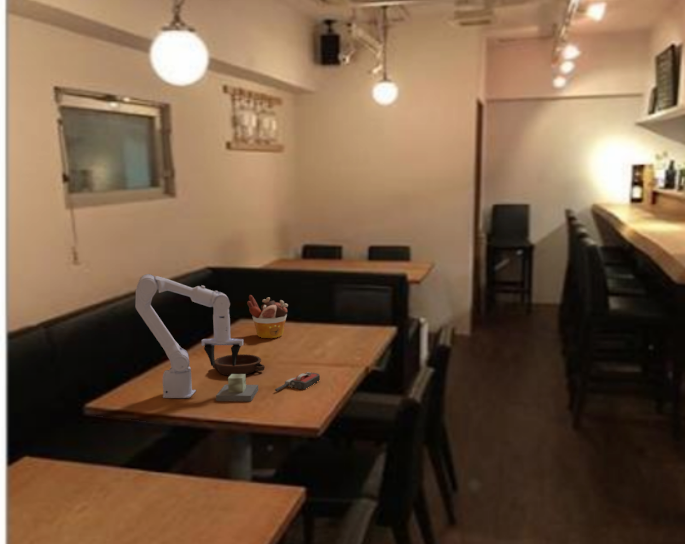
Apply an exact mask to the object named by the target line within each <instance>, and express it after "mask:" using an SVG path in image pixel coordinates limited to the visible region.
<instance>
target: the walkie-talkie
mask: <svg viewBox="0 0 685 544" xmlns="http://www.w3.org/2000/svg"><path fill="white" fill-rule="evenodd" d="M320 378H321V377H320V373H317V372H316V373H315V372H309V371H307V372H305V373H300V374H299V375H296V377H291V378H288V379H287V380H285V381H284V384H282V385H281V386H278V387H276V388H275V389H274V391H275V392H279V391H280V390H283V389H285V388H286V387H287V386H290V387H291V389H292V387H295V388H294V389H297V388H298V389H297V390H303V389H305V390H307V389H309V388H310V387H309V386H311V385H313V384H314V383H316V382H317V381H319V380H320ZM320 381H321V380H320ZM316 384H317V383H316ZM314 385H315V384H314ZM314 385H313V386H314ZM290 387H289V388H290ZM308 387H309V388H308ZM311 387H312V386H311ZM287 388H288V387H287ZM306 388H307V389H306Z"/></svg>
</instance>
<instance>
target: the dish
mask: <svg viewBox="0 0 685 544" xmlns="http://www.w3.org/2000/svg"><path fill="white" fill-rule="evenodd" d="M261 362H262V358H261V357H260V356H257V355H255V354H244V353H243V354H241V353H238V355H237V359H236V365H235V366H232V354H228V355H223V356H221V357H218V358H216V359H215V364H214V365H213V366H212V368H213V369H215V370H218V372H219V373H220V374H221V375H224V376H230V375H231V374H246V375H250V374H252V373H254V372H261V371H264V370H265V367H266V365H264V364H262V363H261Z"/></svg>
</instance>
